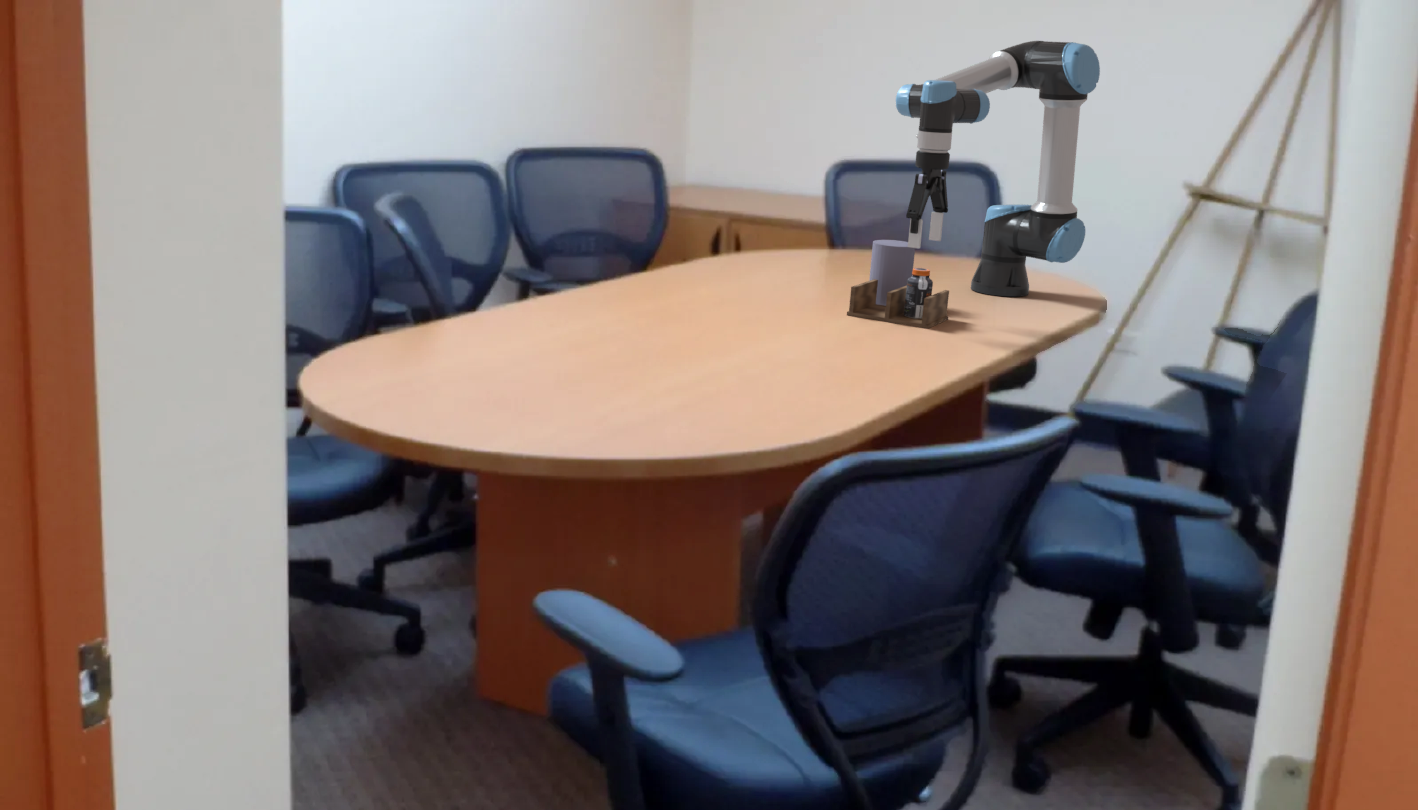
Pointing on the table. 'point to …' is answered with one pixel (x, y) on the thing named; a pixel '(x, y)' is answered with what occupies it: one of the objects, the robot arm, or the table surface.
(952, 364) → the table surface
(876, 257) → the container
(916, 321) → the rack
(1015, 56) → the robot arm
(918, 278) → the pill bottle
